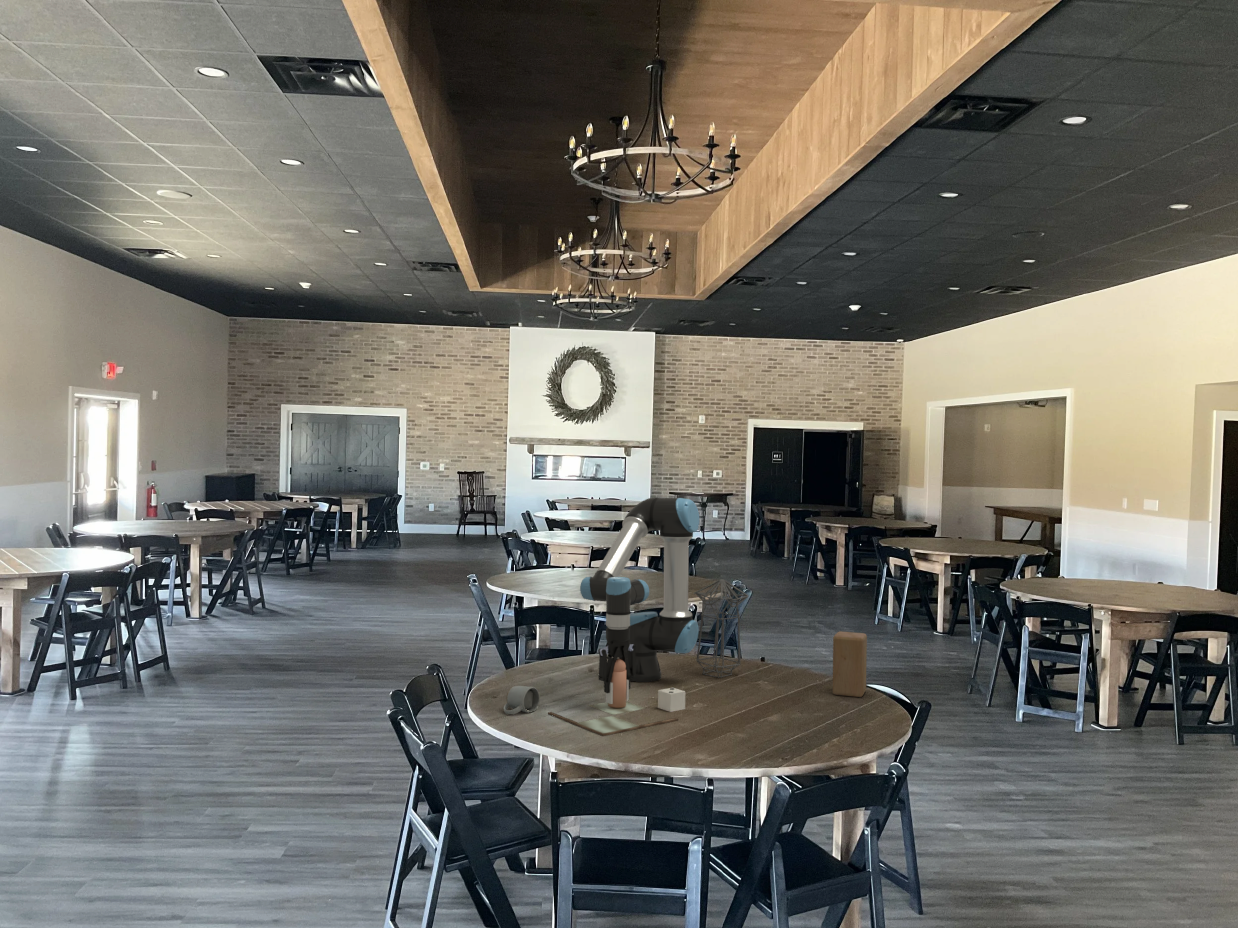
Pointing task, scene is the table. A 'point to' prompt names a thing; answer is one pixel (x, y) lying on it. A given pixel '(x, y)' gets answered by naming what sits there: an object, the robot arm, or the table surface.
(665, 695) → the off-white cube
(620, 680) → the pawn
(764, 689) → the table surface
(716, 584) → the geometric lantern
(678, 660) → the table surface
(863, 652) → the wooden block
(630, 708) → the game board
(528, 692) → the ceramic mug
